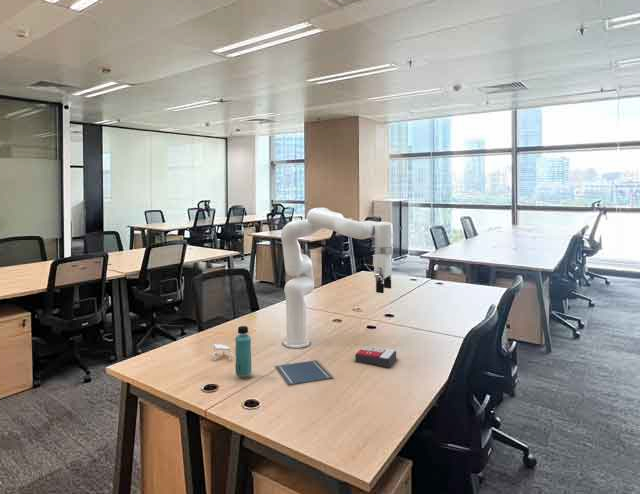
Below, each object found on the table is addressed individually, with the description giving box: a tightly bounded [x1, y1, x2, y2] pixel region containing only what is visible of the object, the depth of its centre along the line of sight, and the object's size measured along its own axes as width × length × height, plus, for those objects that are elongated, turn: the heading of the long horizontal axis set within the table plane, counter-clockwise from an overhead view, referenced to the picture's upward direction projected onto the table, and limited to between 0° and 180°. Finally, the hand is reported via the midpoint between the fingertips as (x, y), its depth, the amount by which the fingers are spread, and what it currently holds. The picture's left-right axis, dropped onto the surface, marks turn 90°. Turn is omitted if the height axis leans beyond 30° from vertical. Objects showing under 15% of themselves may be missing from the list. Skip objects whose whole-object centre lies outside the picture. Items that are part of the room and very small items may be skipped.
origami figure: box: [211, 343, 234, 362], centre depth 189 cm, size 12×8×5 cm
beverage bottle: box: [234, 325, 253, 377], centre depth 170 cm, size 6×7×20 cm
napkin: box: [275, 360, 333, 386], centre depth 174 cm, size 18×18×1 cm
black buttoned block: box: [354, 345, 397, 369], centre depth 186 cm, size 11×4×15 cm
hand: (383, 290), depth 183 cm, fingers open, 9 cm apart
